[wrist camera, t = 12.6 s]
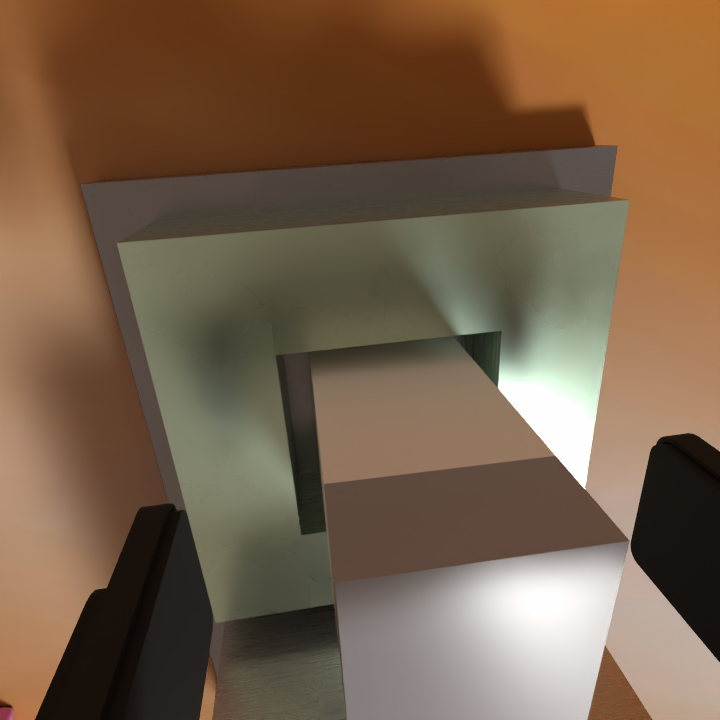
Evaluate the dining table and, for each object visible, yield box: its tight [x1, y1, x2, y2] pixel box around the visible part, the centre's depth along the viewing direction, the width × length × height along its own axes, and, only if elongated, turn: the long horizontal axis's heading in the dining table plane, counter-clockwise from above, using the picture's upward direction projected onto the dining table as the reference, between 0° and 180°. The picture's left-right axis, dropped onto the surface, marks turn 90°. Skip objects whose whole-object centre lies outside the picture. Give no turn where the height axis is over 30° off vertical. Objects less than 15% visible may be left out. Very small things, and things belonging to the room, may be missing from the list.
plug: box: [309, 336, 629, 720], centre depth 11 cm, size 4×4×9 cm
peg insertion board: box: [80, 145, 652, 720], centre depth 15 cm, size 14×25×9 cm, turn 3°
